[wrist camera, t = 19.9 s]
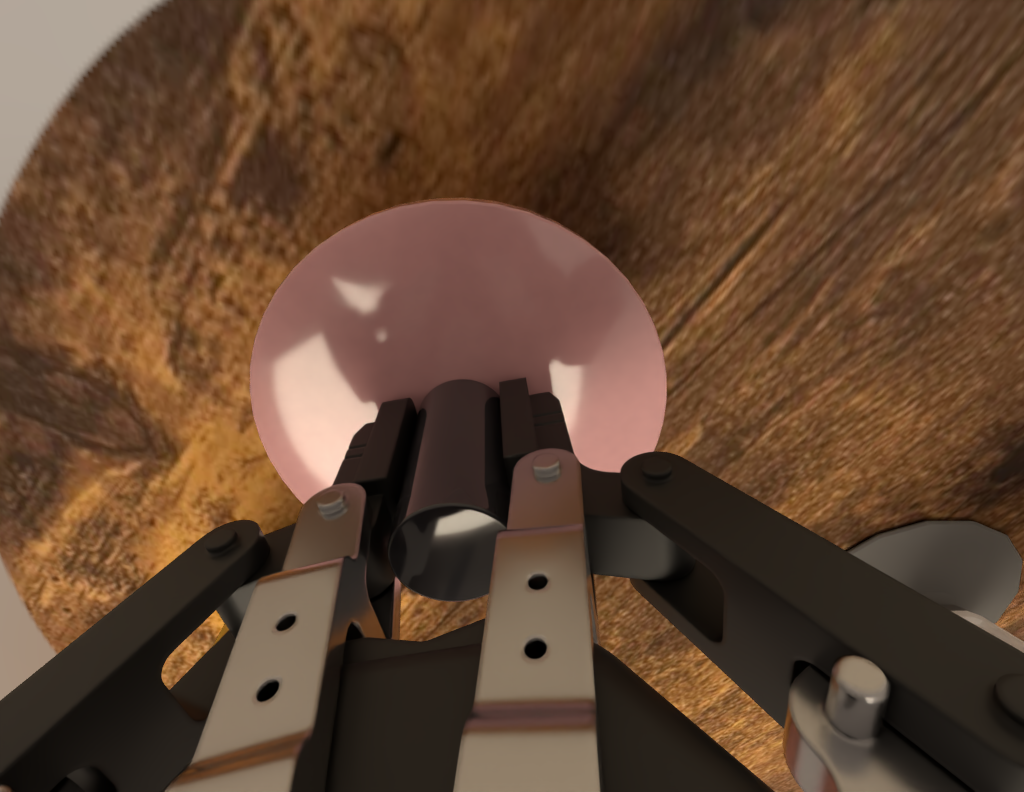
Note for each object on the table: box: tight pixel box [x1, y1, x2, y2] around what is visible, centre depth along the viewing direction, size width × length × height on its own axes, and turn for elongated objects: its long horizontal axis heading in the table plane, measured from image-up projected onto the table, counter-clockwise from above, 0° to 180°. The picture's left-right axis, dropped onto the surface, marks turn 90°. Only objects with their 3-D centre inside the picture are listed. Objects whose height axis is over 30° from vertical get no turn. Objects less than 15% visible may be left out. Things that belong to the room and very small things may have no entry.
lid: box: [250, 198, 667, 602], centre depth 12 cm, size 11×11×6 cm
